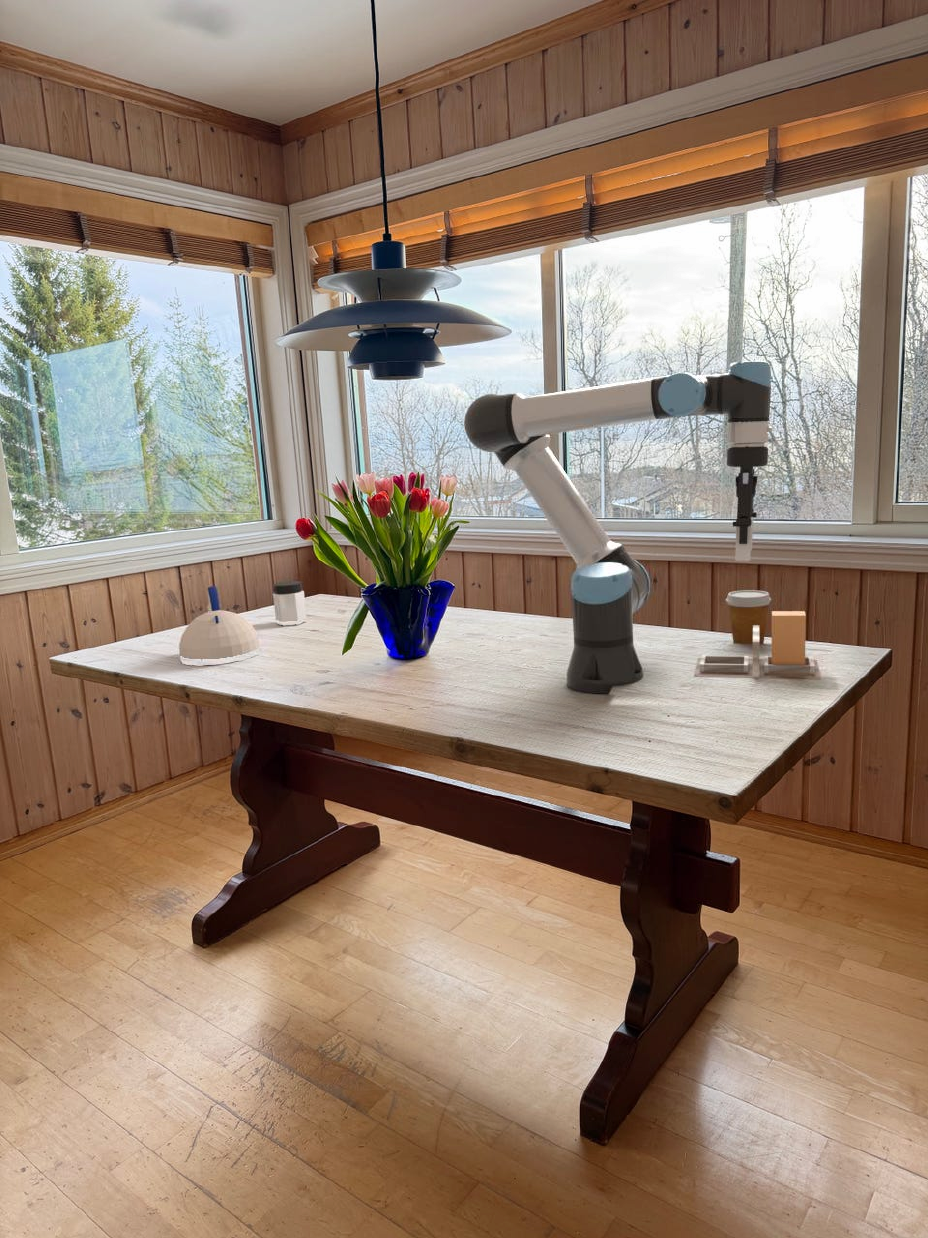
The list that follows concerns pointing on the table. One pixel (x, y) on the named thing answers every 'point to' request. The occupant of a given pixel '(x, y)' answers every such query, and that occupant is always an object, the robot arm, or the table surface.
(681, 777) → the table surface
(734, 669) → the divided caddy with handle
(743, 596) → the disposable coffee cup
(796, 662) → the block
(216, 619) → the beige dome cover
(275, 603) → the jar
